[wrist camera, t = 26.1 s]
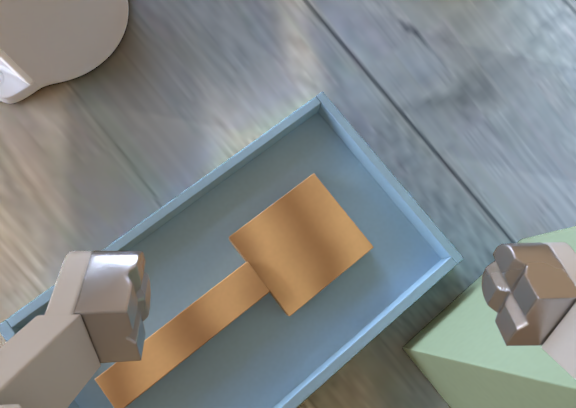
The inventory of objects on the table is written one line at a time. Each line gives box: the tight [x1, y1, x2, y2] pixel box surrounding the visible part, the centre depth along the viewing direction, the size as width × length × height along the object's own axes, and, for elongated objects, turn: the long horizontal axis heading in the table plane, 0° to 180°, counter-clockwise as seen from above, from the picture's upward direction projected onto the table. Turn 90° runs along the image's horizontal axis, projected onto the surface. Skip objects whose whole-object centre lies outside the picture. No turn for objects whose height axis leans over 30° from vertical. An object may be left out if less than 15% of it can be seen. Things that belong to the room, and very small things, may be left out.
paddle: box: [95, 173, 374, 408], centre depth 38 cm, size 23×8×2 cm, turn 128°
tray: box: [0, 92, 463, 408], centre depth 39 cm, size 32×19×3 cm, turn 129°
